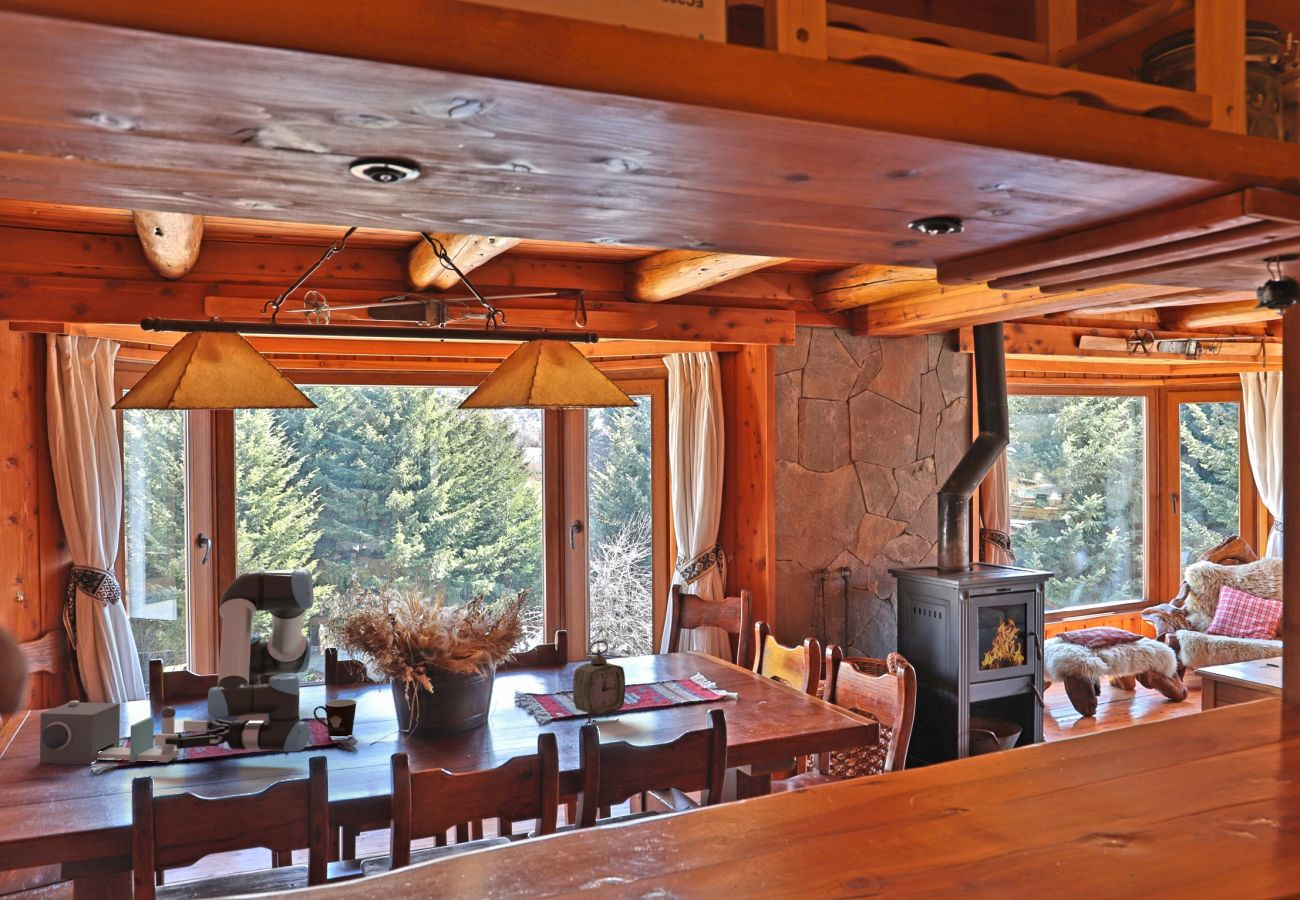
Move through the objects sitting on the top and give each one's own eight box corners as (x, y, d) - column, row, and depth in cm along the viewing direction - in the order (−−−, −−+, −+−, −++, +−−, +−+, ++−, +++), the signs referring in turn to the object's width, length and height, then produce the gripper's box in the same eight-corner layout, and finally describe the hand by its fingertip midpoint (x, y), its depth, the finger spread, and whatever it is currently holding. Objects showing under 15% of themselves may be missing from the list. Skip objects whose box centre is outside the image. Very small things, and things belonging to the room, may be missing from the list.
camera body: (119, 751, 271) (119, 699, 271) (86, 767, 257) (87, 712, 257) (69, 750, 272) (70, 698, 272) (34, 765, 258) (35, 711, 258)
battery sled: (182, 754, 268) (183, 702, 268) (164, 764, 259) (165, 711, 260) (113, 752, 270) (114, 701, 270) (93, 762, 261) (94, 709, 261)
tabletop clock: (587, 729, 299) (588, 645, 299) (569, 722, 306) (570, 641, 306) (624, 721, 308) (625, 640, 309) (606, 715, 315) (607, 636, 315)
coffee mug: (362, 736, 288) (362, 701, 289) (339, 743, 281) (339, 707, 281) (334, 730, 294) (334, 696, 295) (310, 737, 287) (311, 702, 287)
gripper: (224, 763, 250) (142, 760, 251) (269, 736, 274) (195, 733, 276) (224, 733, 250) (143, 730, 251) (269, 708, 275) (195, 706, 276)
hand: (170, 732), depth 264 cm, fingers open, 13 cm apart
